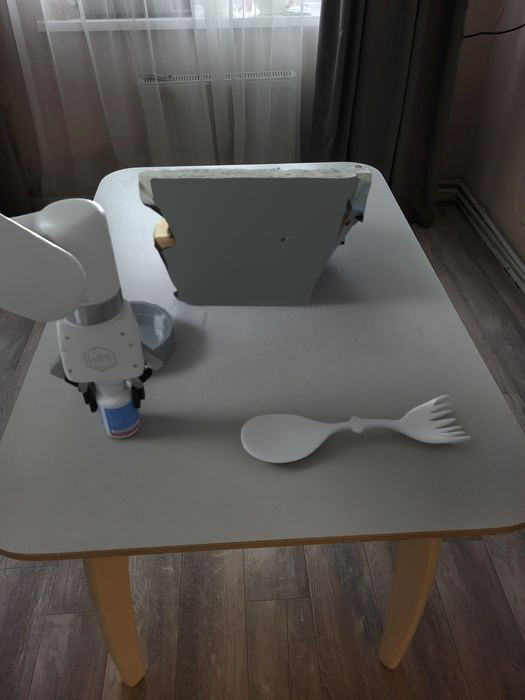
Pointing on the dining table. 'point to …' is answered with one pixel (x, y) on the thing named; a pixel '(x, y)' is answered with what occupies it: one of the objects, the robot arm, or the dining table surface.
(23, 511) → the dining table surface
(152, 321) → the pan
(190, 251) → the basket
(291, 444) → the spoon
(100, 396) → the pill bottle
